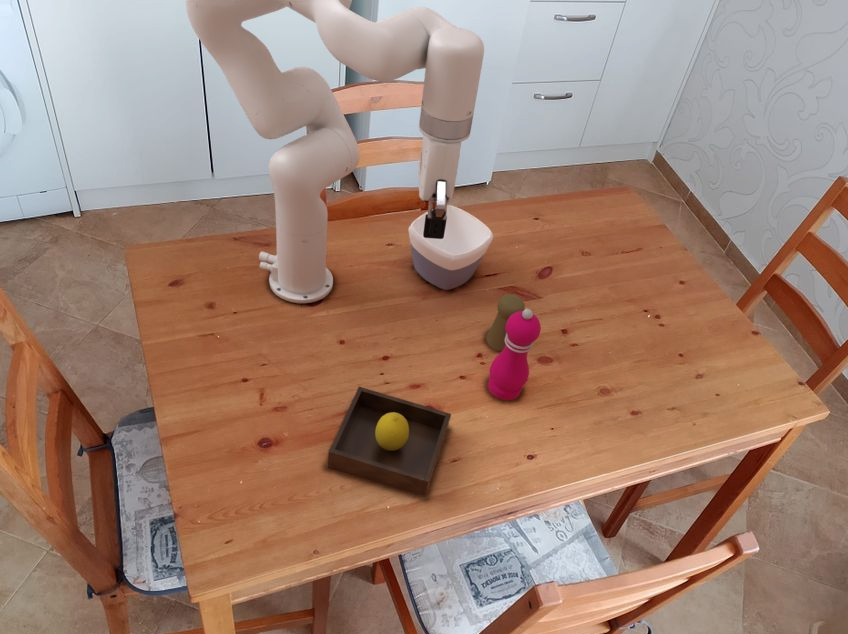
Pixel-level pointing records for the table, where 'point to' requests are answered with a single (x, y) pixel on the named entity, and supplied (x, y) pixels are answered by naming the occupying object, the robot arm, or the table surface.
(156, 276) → the table surface
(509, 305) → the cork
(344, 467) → the dark wooden tray
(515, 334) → the pepper mill
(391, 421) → the lemon
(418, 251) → the bowl
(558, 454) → the table surface
